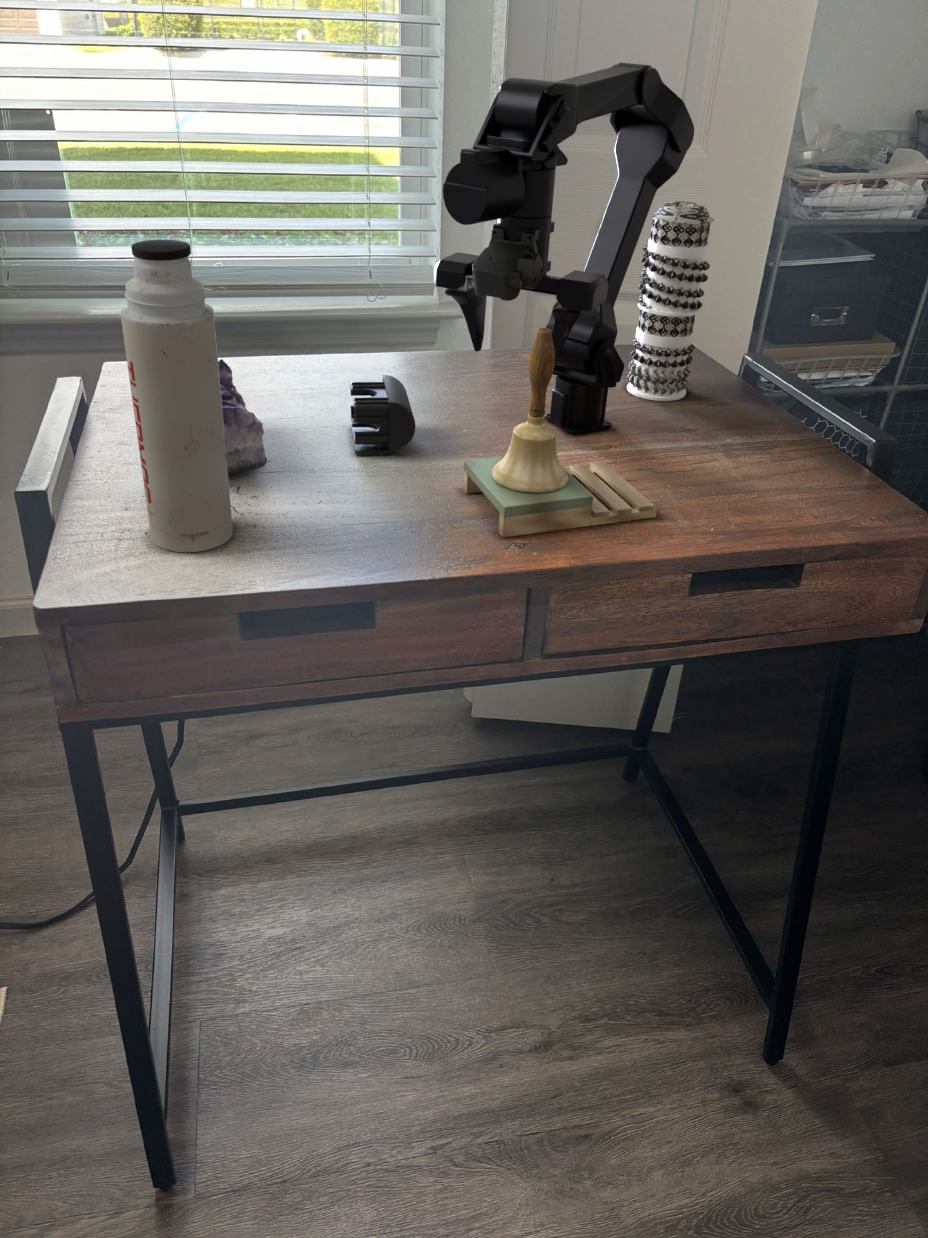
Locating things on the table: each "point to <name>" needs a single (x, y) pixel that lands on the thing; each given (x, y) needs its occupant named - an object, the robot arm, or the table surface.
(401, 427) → the end cap
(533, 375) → the hand bell
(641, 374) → the decorative candle
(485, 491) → the rack
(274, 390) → the table surface
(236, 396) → the geode
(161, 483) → the thermos bottle
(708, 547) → the table surface
